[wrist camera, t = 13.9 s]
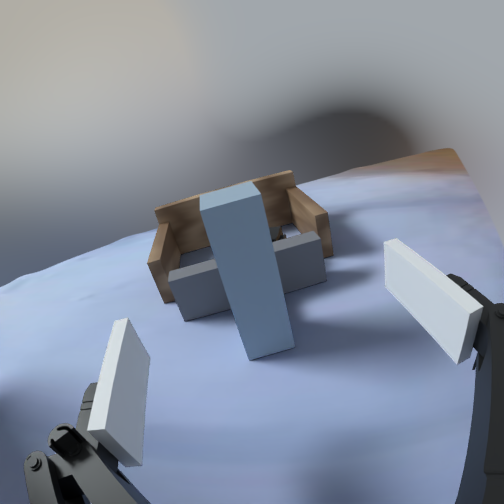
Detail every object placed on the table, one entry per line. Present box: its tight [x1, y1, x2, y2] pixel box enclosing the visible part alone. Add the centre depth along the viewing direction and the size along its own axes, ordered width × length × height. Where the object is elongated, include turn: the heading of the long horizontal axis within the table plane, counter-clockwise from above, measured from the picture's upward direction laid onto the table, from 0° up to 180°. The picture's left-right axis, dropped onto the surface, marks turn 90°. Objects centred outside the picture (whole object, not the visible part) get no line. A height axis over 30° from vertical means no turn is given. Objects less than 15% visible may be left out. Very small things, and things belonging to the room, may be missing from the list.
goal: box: [147, 170, 333, 303], centre depth 38 cm, size 19×13×7 cm
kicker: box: [168, 181, 327, 360], centre depth 25 cm, size 14×9×12 cm, turn 99°
